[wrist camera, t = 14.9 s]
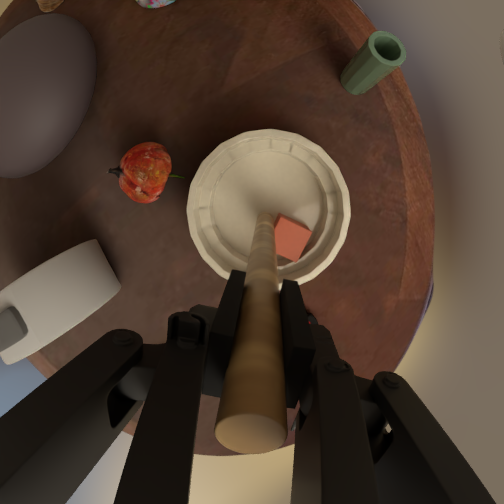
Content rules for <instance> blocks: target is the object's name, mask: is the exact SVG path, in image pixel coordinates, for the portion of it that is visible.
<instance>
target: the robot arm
mask: <svg viewBox="0 0 504 504" xmlns="http://www.w3.org/2000/svg"><path fill="white" fill-rule="evenodd" d="M245 277H246V272H244V271H239V270H234V269H232V271H231V273H230V276H229V279H228V282H227V285H226V287H225V290H224V293H223V296H222V298H221V301H220V304H219V307H218V308H214V307H209V306H205V305H200V304H198V305H196V306H194V307H192V308H191V309H190V311H189V312H185V311H183V312H176V313H174V314H171V316H170V317H169V318H168V332H167V341H166V343H164V344H143V340H142V337H141V336H140V335H139V334H138V333H136V332H134V331H131V330H127V329H116V330H112V331H110V332H108V333H106V334H105V335H103V336H102V337H101V338H100V339H98V340H97V341H96V342H94V343H93V344H92V345H91V346H89V347H88V348H87V349H85V350H84V351H83V352H81V353H80V354H79V355H78V356H76V357H75V358H74V359H73V360H71V361H70V362H69V363H67V364H66V365H65V366H64V367H62V368H61V369H60V370H59V371H57V372H56V373H55V374H54V375H52V376H51V377H50V378H48V379H47V380H46V381H45V382H43V383H42V384H41V385H40V386H39V387H37V388H36V389H35V390H34V391H32V392H31V393H30V394H29V395H27V396H26V397H25V398H24V399H22V400H21V401H20V402H19V403H17V404H16V405H15V406H14V407H13V408H11V409H10V410H9V411H8V412H7V413H6V414H4V415H3V416H2V417H0V504H65V503H66V502H67V501H68V500H69V498H70V497H71V496H72V495H73V493H74V492H75V491H76V489H77V488H78V487H79V485H80V484H81V483H82V482H83V480H84V479H85V478H86V477H87V475H88V474H89V473H90V471H91V470H92V469H93V467H94V466H95V465H96V464H97V462H98V461H99V460H100V458H101V457H102V456H103V455H104V453H105V452H106V451H107V449H108V448H109V447H110V446H111V444H112V443H113V442H114V440H115V439H116V438H117V436H118V435H119V434H120V432H121V431H122V430H123V429H124V427H125V426H126V425H127V424H128V422H129V421H130V420H131V418H132V417H133V416H134V414H135V413H136V412H137V411H138V409H139V408H140V407H141V405H142V404H143V401H145V403H144V406H143V409H142V412H141V415H140V418H139V421H138V424H137V427H136V430H135V433H134V436H133V440H132V443H131V446H130V449H129V453H128V456H127V459H126V463H125V466H124V469H123V472H122V476H121V479H120V483H119V486H118V490H117V493H116V497H115V500H114V504H189V494H190V484H191V473H192V464H193V456H194V447H195V438H196V430H197V421H198V413H199V405H200V397H201V391H202V394H205V395H209V396H214V397H219V398H221V393H222V388H223V383H224V378H225V373H226V370H227V368H228V364H229V359H230V354H231V349H232V344H233V339H234V334H235V329H236V324H237V318H238V313H239V308H240V303H241V298H242V293H243V288H244V283H245ZM280 308H281V322H282V337H283V353H284V370H285V388H286V407H287V408H294V409H295V407H296V405H297V402H298V400H299V402H300V408H299V411H298V413H297V416H296V418H295V420H294V423H293V425H292V428H291V431H294V429H295V427H296V429H295V448H294V464H293V478H292V491H291V503H290V504H496V503H495V501H494V500H493V498H492V497H491V495H490V494H489V492H488V491H487V489H486V488H485V487H484V485H483V484H482V482H481V481H480V479H479V478H478V477H477V475H476V474H475V472H474V471H473V469H472V468H471V467H470V465H469V464H468V462H467V461H466V460H465V458H464V457H463V455H462V454H461V453H460V451H459V450H458V449H457V447H456V446H455V444H454V443H453V442H452V440H451V439H450V438H449V436H448V435H447V434H446V432H445V431H444V430H443V428H442V427H441V426H440V424H439V423H438V422H437V420H436V419H435V418H434V416H433V415H432V414H431V413H430V411H429V410H428V409H427V407H426V406H425V405H424V403H423V402H422V401H421V400H420V398H419V397H418V396H417V394H416V393H415V392H414V391H413V389H412V388H411V387H410V385H409V384H408V383H407V382H406V381H405V380H404V379H403V378H402V377H401V376H399V375H397V374H396V373H393V372H386V371H383V372H378V373H377V374H376V375H375V376H374V379H373V381H372V380H369V379H365V378H361V377H358V376H355V375H354V372H353V369H352V367H351V365H350V364H348V363H347V362H346V361H344V360H342V359H340V358H339V355H338V352H337V350H336V347H335V345H334V342H333V339H332V336H331V334H330V331H329V330H328V329H326V328H325V327H324V326H323V325H317V324H310V323H309V320H308V317H307V313H306V310H305V306H304V302H303V299H302V295H301V292H300V288H299V285H298V281H294V280H288V279H283V282H282V287H281V291H280ZM387 424H389V425H390V427H391V429H392V430H391V431H390V433H388V432H387V431H386V429H385V427H386V426H387Z"/></svg>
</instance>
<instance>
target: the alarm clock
mask: <svg viewBox="0 0 504 504" xmlns="http://www.w3.org/2000/svg"><path fill="white" fill-rule="evenodd" d="M120 288H121V285H120V283H119V281H118V279H117V278H116V276H115V274H114V272H113V270H112V268H111V266H110V265H109V263H108V261H107V259H106V257H105V255H104V253H103V251H102V249H101V247H100V245H99V243H98V241H97V240H96V239H94V240H89V241H87V242H84V243H81V244H79V245H77V246H75V247H73V248H70V249H68V250H66V251H64V252H62V253H61V254H59V255H57V256H55V257H53V258H51V259H49V260H48V261H46V262H44V263H42V264H41V265H39V266H37V267H36V268H34V269H32V270H31V271H29V272H27V273H26V274H24V275H23V276H21V277H20V278H18V279H17V280H15V281H14V282H12V283H11V284H9V285H8V286H7V287H5V288H4V289H3V290H1V291H0V356H1V358H2V359H3V361H4V362H5V364H8V365H9V364H12V363H15V362H17V361H19V360H21V359H23V358H25V357H27V356H29V355H31V354H32V353H34V352H36V351H37V350H39V349H41V348H42V347H44V346H46V345H47V344H49V343H50V342H52V341H53V340H55V339H56V338H58V337H59V336H61V335H62V334H64V333H65V332H67V331H68V330H70V329H71V328H72V327H74V326H75V325H77V324H78V323H80V322H81V321H83V320H84V319H85V318H87V317H88V316H89V315H91V314H92V313H93V312H95V311H96V310H97V309H99V308H100V307H101V306H102V305H104V304H105V303H106V302H107V301H109V300H110V299H111V298H112V297H113V296H114V295H115V294H116V293H117V292H118V291H119V290H120Z"/></svg>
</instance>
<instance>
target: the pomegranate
mask: <svg viewBox="0 0 504 504" xmlns="http://www.w3.org/2000/svg"><path fill="white" fill-rule="evenodd" d="M171 169H172V165H171V158H170V155H169V154H168V153H167V149H166V148H165V147H164V146H163V145H161V144H158V143H155V142H144V143H141V144H138V145H136V146H134V147H133V148H131V149H130V150H129V151H128V152H126V154H125V155H124V156H123V158H122V159H121V162H120V166H118V167H117V168H114V169H111V168H110V169H109V170H108V172H107V174H108V173H113V174H116V176H117V177H118V178H119V185H120V187H121V189H122V190H123V191H124V192H125V193H126V194H127V195H128V196H129V197H130V198H131V199H132V200H134V201H136V202H139V203H151V202H153V201H155V200H157V199H158V198H159V197H160V194H161V192H162V191H163V190H164V187H165V185H166V181H167V179H168V177H177V178H185V177H182V176H176V175H174V174H170V172H171Z"/></svg>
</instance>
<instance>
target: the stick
mask: <svg viewBox="0 0 504 504" xmlns="http://www.w3.org/2000/svg"><path fill="white" fill-rule="evenodd" d="M214 433H215V436H216V438H217V440H218V441H219V442H220V443H221V444H222V445H223V446H225V447H227V448H228V449H231V450H233V451H236V452H240V453H245V454H261V453H266V452H270V451H273V450H275V449H277V448H279V447H280V446H281V445H282V444H283V443H284V442H285V440H286V438H287V435H288V428H287V407H286V388H285V370H284V353H283V337H282V322H281V308H280V294H279V280H278V268H277V255H276V243H275V231H274V220H273V216H272V215H271V214H270V213H268V212H263V213H260V214H259V215H258V217H257V220H256V225H255V230H254V235H253V240H252V245H251V250H250V255H249V259H248V264H247V269H246V277H245V283H244V288H243V293H242V298H241V303H240V308H239V313H238V318H237V324H236V329H235V334H234V339H233V344H232V349H231V354H230V359H229V364H228V368H227V370H226V373H225V378H224V383H223V388H222V393H221V398H220V403H219V408H218V413H217V418H216V423H215V428H214Z"/></svg>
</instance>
